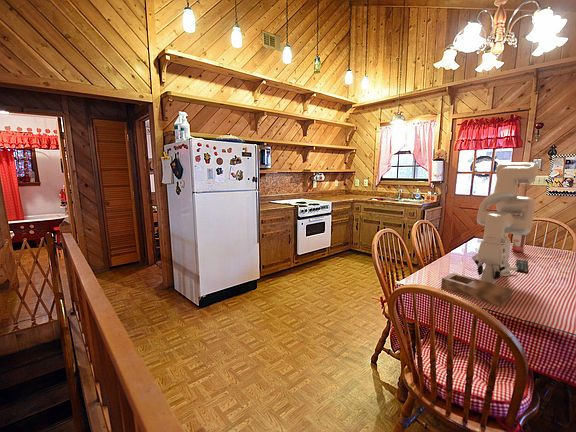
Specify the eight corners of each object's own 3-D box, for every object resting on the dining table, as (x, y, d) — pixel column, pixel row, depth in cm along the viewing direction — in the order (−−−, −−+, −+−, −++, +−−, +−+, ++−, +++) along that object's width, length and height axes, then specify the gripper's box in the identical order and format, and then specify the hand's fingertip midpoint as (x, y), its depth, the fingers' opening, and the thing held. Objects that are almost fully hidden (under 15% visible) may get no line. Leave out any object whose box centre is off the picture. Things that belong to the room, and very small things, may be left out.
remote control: (527, 263, 173) (527, 261, 173) (528, 274, 155) (528, 272, 155) (516, 261, 177) (516, 259, 176) (515, 272, 158) (515, 270, 158)
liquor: (527, 253, 191) (533, 211, 186) (516, 253, 191) (522, 211, 186) (518, 250, 198) (524, 209, 193) (507, 250, 198) (513, 209, 193)
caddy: (511, 299, 125) (512, 289, 124) (501, 306, 118) (502, 296, 117) (452, 281, 144) (453, 272, 143) (441, 287, 137) (442, 278, 136)
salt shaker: (476, 283, 142) (480, 257, 139) (487, 282, 142) (491, 257, 140) (485, 288, 136) (489, 261, 134) (497, 287, 136) (500, 261, 134)
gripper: (518, 242, 131) (512, 280, 134) (475, 235, 144) (471, 269, 147) (512, 245, 126) (506, 284, 129) (469, 237, 140) (465, 273, 143)
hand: (488, 276), depth 138 cm, fingers open, 6 cm apart
